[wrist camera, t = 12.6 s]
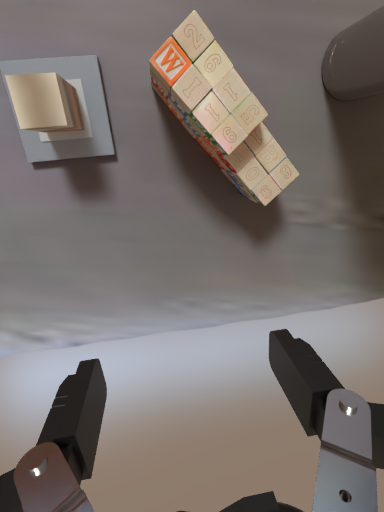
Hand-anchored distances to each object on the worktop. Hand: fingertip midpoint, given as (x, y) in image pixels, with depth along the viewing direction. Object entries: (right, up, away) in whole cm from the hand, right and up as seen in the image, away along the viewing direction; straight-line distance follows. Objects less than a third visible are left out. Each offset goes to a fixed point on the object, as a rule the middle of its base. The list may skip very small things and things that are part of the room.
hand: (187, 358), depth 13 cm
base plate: (-18, +25, +25) cm, 39 cm away
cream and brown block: (-17, +24, +24) cm, 38 cm away
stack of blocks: (+4, +24, +29) cm, 37 cm away
